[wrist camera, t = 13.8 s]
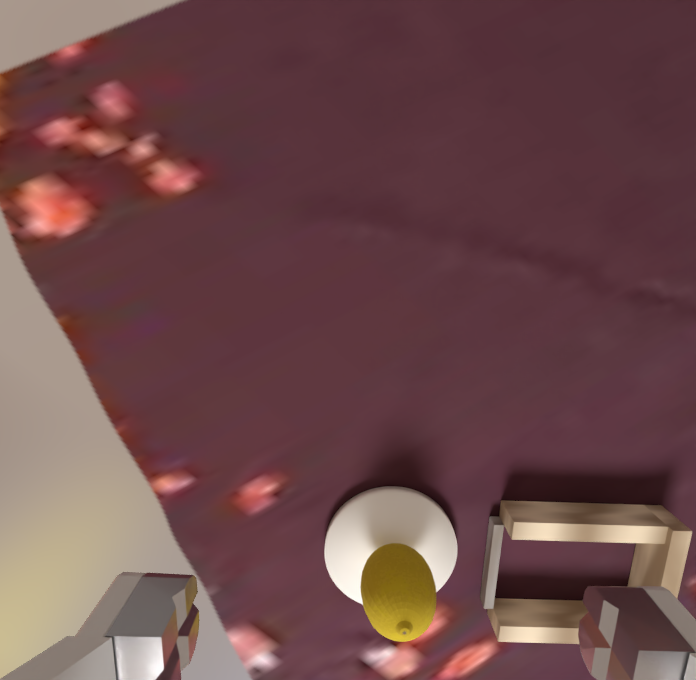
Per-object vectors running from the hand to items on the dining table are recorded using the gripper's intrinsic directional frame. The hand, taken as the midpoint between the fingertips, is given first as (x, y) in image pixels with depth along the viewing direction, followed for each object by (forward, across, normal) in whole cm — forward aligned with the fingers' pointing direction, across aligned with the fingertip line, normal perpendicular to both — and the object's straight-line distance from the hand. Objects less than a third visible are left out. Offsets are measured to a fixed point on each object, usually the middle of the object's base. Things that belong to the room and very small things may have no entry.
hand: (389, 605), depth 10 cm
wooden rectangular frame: (+26, -18, +19) cm, 37 cm away
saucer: (+26, -3, +18) cm, 32 cm away
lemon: (+25, -3, +18) cm, 31 cm away
